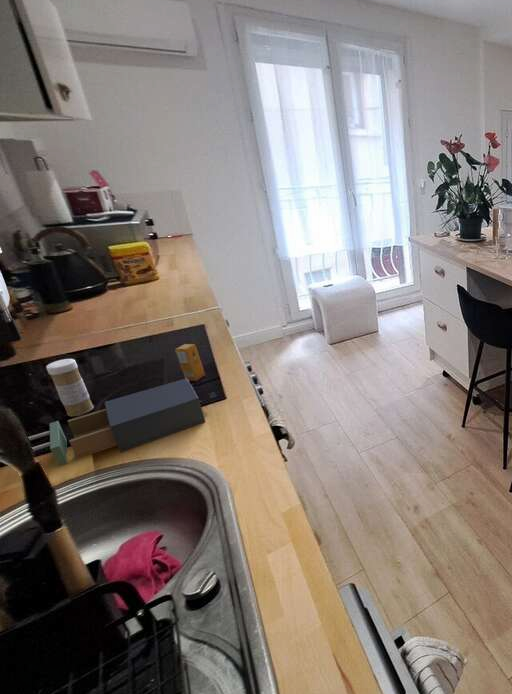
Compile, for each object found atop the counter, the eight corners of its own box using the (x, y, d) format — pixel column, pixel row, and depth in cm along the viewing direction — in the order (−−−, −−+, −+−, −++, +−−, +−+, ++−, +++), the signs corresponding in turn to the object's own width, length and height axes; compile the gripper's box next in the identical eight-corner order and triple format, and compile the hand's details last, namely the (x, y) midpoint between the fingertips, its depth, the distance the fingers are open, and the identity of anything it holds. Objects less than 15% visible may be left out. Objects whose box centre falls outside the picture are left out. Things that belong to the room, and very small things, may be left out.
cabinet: (120, 452, 86) (110, 426, 84) (114, 426, 94) (104, 401, 92) (205, 421, 96) (198, 398, 94) (193, 400, 104) (186, 378, 102)
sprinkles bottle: (78, 407, 100) (57, 358, 95) (100, 405, 101) (80, 357, 96) (61, 418, 96) (39, 368, 91) (84, 417, 97) (62, 367, 92)
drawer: (19, 482, 77) (8, 462, 75) (21, 453, 84) (11, 434, 82) (150, 436, 90) (143, 418, 88) (142, 414, 97) (136, 397, 95)
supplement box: (193, 375, 115) (184, 343, 112) (205, 375, 115) (196, 343, 112) (184, 381, 112) (174, 348, 109) (196, 381, 112) (186, 349, 109)
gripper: (-65, 243, 74) (-20, 335, 80) (-80, 258, 64) (-28, 361, 71) (1, 238, 79) (38, 324, 85) (-4, 251, 70) (38, 347, 76)
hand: (8, 341), depth 78 cm, fingers closed
